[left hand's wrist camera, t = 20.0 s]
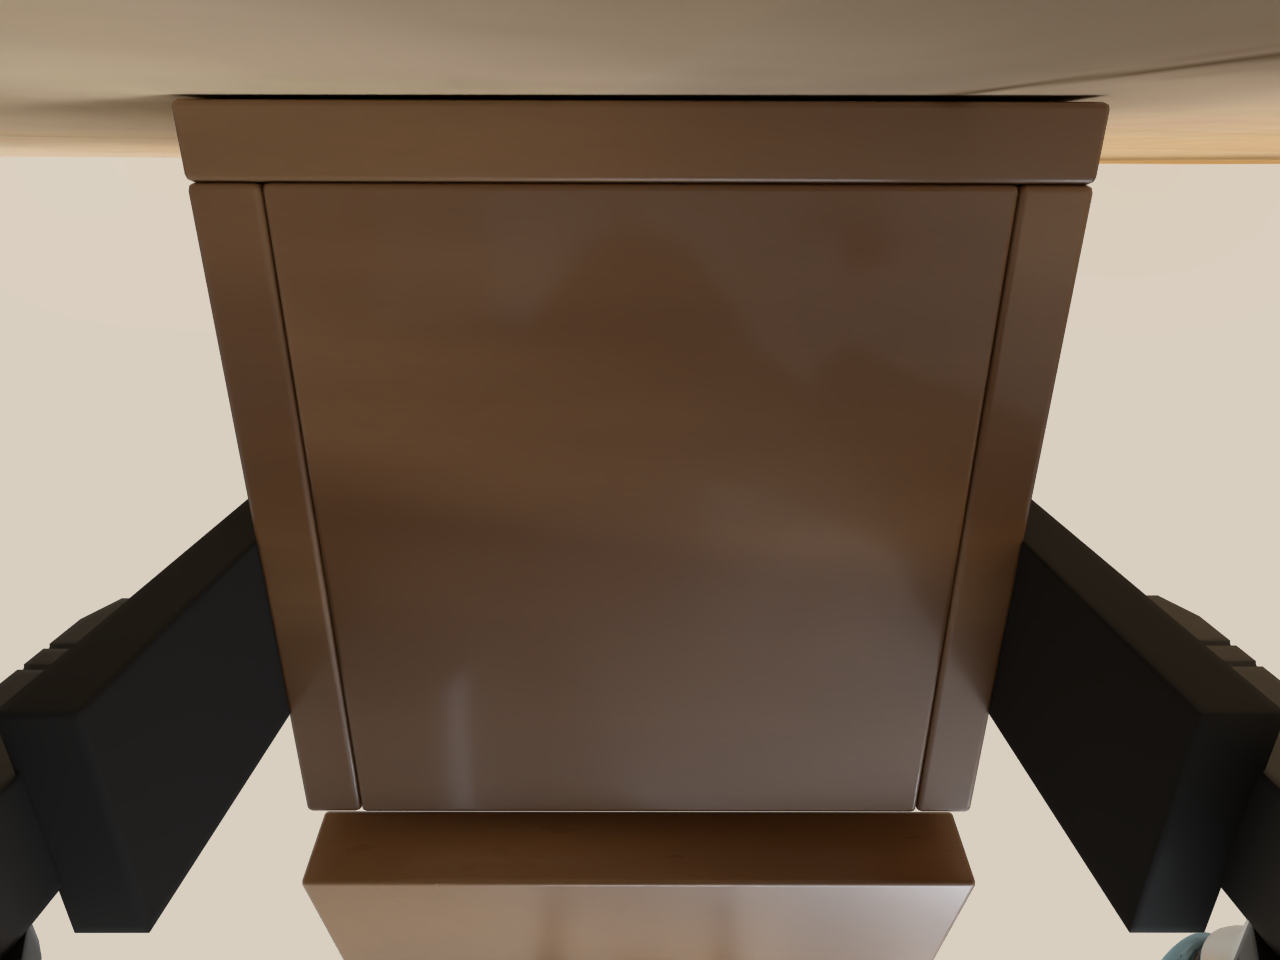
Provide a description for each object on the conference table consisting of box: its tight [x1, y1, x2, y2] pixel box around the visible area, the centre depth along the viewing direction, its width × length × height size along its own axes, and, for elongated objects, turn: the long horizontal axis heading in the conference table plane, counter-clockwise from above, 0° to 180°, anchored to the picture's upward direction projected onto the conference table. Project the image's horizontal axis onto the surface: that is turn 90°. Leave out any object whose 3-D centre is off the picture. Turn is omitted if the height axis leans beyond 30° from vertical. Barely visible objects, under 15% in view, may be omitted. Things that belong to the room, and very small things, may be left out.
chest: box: [172, 99, 1109, 811], centre depth 17 cm, size 16×10×10 cm, turn 0°
